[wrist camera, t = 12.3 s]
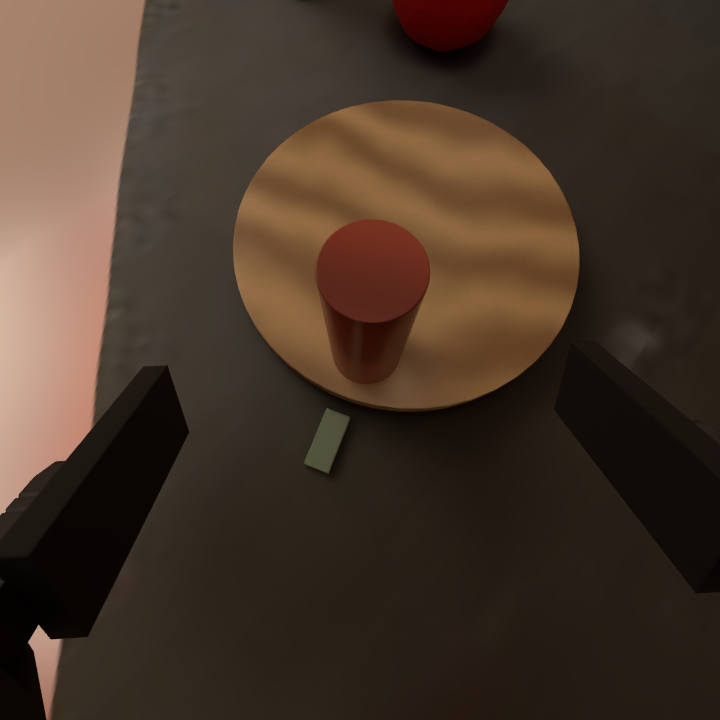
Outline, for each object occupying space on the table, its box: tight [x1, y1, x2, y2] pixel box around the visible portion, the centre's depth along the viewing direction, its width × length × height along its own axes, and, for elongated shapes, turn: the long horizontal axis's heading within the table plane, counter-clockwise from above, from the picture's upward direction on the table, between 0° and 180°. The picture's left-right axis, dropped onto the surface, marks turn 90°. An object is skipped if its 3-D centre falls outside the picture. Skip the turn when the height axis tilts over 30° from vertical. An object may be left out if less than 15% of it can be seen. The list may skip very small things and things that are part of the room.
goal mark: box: [304, 408, 351, 474], centre depth 24 cm, size 4×2×1 cm, turn 159°
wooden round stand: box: [233, 100, 579, 412], centre depth 21 cm, size 22×22×11 cm
